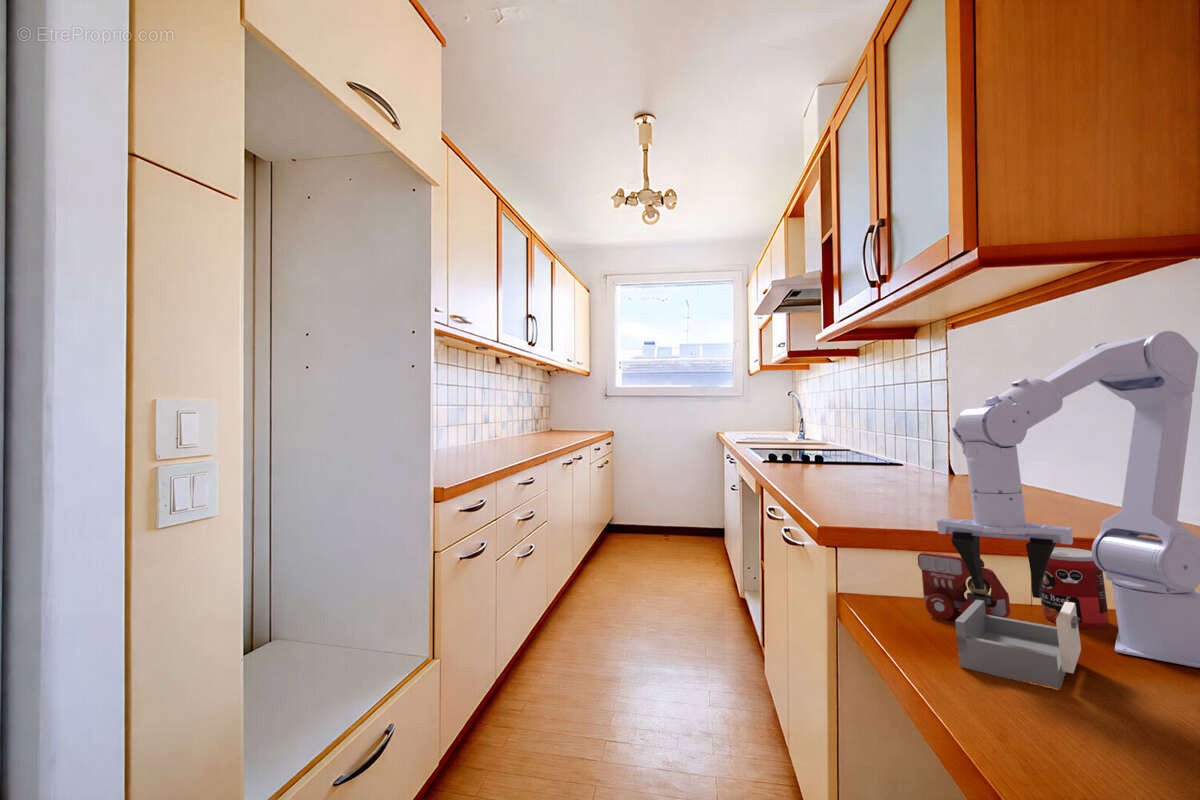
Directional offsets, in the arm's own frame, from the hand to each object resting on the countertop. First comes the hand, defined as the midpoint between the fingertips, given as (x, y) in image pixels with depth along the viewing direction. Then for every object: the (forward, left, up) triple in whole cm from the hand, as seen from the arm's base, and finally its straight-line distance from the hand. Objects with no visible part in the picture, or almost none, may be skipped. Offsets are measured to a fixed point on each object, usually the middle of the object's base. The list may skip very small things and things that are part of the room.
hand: (1007, 591), depth 69 cm
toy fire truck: (+9, -15, -10) cm, 20 cm away
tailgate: (-5, 0, -7) cm, 9 cm away
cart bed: (0, 0, -9) cm, 9 cm away
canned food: (-4, -24, -10) cm, 27 cm away
